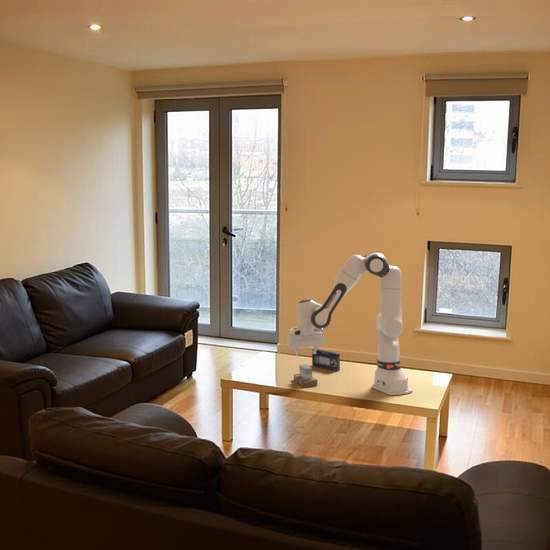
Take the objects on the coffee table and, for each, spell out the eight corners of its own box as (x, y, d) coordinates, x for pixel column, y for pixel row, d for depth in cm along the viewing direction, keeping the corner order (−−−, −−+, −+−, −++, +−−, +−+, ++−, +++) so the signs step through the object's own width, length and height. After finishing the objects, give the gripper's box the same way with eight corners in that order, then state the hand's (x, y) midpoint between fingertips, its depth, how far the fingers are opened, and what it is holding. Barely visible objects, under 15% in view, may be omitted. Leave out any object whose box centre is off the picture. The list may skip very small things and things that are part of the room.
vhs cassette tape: (311, 365, 397) (311, 349, 395) (315, 364, 399) (315, 348, 397) (336, 371, 385) (337, 354, 383) (340, 370, 387) (340, 353, 385)
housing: (306, 374, 368) (306, 364, 368) (312, 379, 361) (312, 368, 360) (299, 375, 367) (299, 364, 366) (305, 379, 360) (305, 368, 359)
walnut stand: (317, 385, 359) (317, 380, 359) (303, 387, 357) (303, 381, 356) (307, 378, 372) (307, 373, 372) (293, 379, 370) (293, 374, 369)
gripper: (321, 326, 366) (321, 351, 369) (285, 330, 360) (286, 355, 362) (326, 328, 361) (326, 354, 363) (290, 332, 354) (290, 358, 356)
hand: (306, 354), depth 362 cm, fingers open, 8 cm apart
